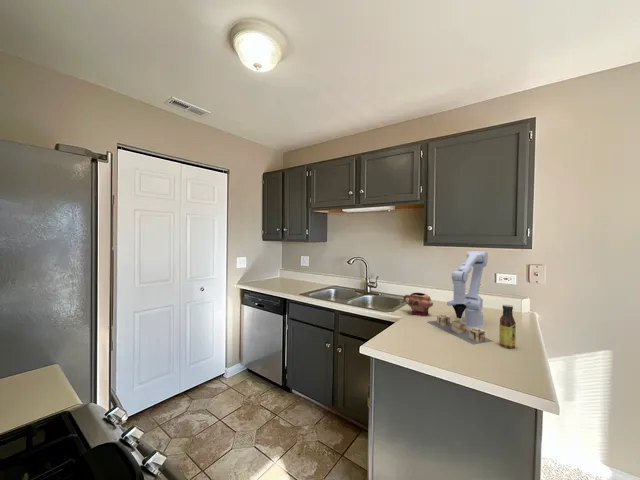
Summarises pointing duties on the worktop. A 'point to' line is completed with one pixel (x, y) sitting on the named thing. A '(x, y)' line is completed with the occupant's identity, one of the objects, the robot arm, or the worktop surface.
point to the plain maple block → (458, 327)
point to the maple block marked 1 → (443, 320)
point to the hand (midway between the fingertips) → (459, 317)
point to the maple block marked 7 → (476, 334)
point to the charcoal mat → (462, 335)
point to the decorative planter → (419, 303)
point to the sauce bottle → (507, 328)
